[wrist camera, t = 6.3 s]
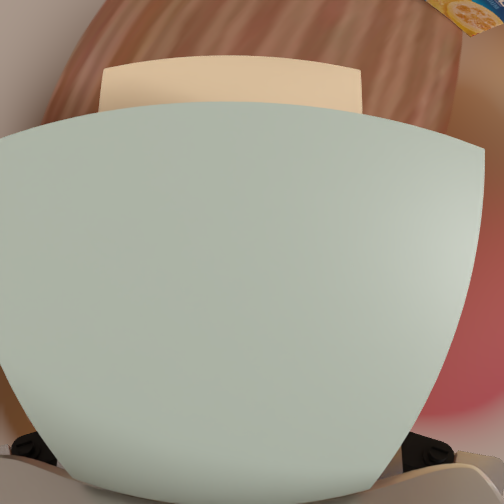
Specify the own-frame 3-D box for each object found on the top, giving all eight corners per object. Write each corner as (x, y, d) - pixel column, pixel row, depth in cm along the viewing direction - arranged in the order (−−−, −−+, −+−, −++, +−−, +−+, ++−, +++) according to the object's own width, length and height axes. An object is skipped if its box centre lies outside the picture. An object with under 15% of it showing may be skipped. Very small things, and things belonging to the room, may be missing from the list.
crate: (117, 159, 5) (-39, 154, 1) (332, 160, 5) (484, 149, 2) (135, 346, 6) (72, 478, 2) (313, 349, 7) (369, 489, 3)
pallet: (152, 105, 8) (104, 68, 5) (314, 107, 9) (360, 70, 5) (188, 465, 13) (182, 516, 10) (278, 466, 14) (286, 517, 10)
